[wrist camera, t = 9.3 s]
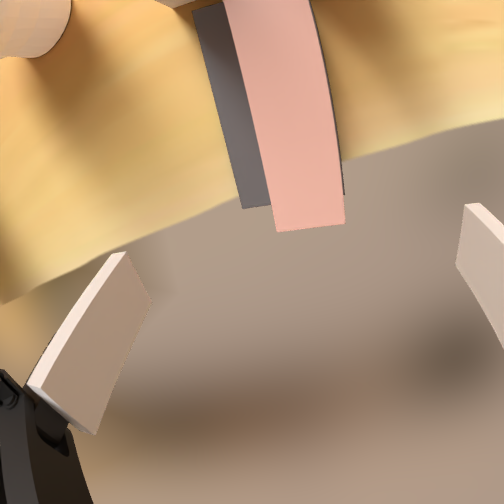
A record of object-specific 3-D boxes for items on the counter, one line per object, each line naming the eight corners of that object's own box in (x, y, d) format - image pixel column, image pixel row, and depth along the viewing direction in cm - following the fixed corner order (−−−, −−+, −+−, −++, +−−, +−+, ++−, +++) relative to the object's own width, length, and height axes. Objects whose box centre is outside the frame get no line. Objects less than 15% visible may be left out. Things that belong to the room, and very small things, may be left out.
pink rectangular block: (280, 193, 22) (276, 232, 17) (239, 12, 15) (220, -10, 10) (332, 186, 22) (345, 223, 17) (297, 2, 14) (301, -25, 9)
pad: (243, 205, 24) (242, 208, 23) (194, 12, 16) (191, 11, 15) (343, 192, 22) (344, 195, 22) (305, -11, 14) (306, -13, 14)
